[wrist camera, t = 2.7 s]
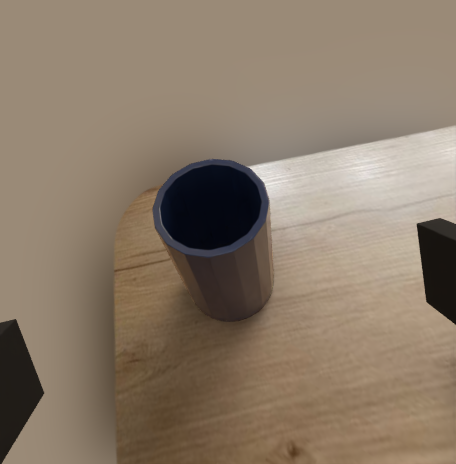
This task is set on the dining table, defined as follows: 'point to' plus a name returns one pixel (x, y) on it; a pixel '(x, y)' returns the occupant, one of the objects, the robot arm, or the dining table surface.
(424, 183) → the dining table surface
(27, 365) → the robot arm
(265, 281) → the cup
